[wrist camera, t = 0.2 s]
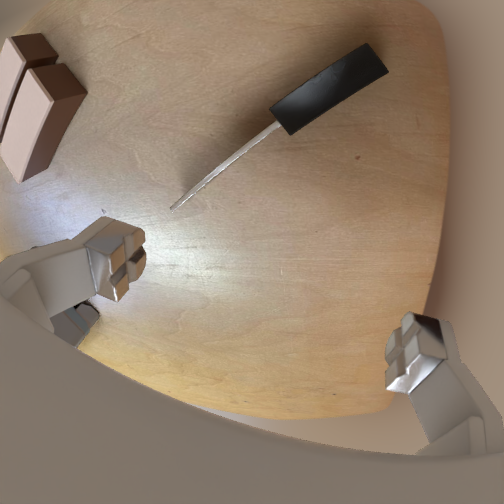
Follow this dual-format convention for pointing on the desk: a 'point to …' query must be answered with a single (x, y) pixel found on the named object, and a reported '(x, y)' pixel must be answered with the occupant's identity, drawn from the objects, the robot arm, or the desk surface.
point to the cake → (33, 104)
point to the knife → (312, 101)
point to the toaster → (74, 323)
